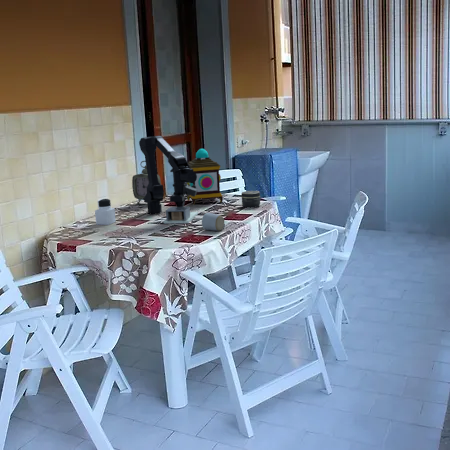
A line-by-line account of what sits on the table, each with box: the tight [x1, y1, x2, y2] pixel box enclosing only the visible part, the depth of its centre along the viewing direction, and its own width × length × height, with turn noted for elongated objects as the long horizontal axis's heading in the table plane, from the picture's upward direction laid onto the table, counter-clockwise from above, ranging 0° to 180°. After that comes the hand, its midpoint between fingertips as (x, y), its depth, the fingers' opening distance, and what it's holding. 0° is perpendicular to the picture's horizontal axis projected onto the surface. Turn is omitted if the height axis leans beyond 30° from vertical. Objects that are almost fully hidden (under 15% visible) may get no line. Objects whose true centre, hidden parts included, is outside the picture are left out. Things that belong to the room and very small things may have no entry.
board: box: [163, 211, 199, 225], centre depth 299 cm, size 12×22×4 cm, turn 170°
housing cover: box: [165, 206, 191, 221], centre depth 294 cm, size 10×9×5 cm
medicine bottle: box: [94, 198, 116, 226], centre depth 296 cm, size 7×7×12 cm
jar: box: [240, 190, 261, 209], centre depth 322 cm, size 10×10×8 cm
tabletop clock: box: [131, 160, 162, 205], centre depth 341 cm, size 14×9×25 cm, turn 58°
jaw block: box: [171, 211, 184, 220], centre depth 294 cm, size 5×5×4 cm
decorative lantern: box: [185, 148, 224, 206], centre depth 342 cm, size 20×20×30 cm
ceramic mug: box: [201, 212, 226, 232], centre depth 272 cm, size 11×8×8 cm
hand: (181, 212), depth 300 cm, fingers closed
